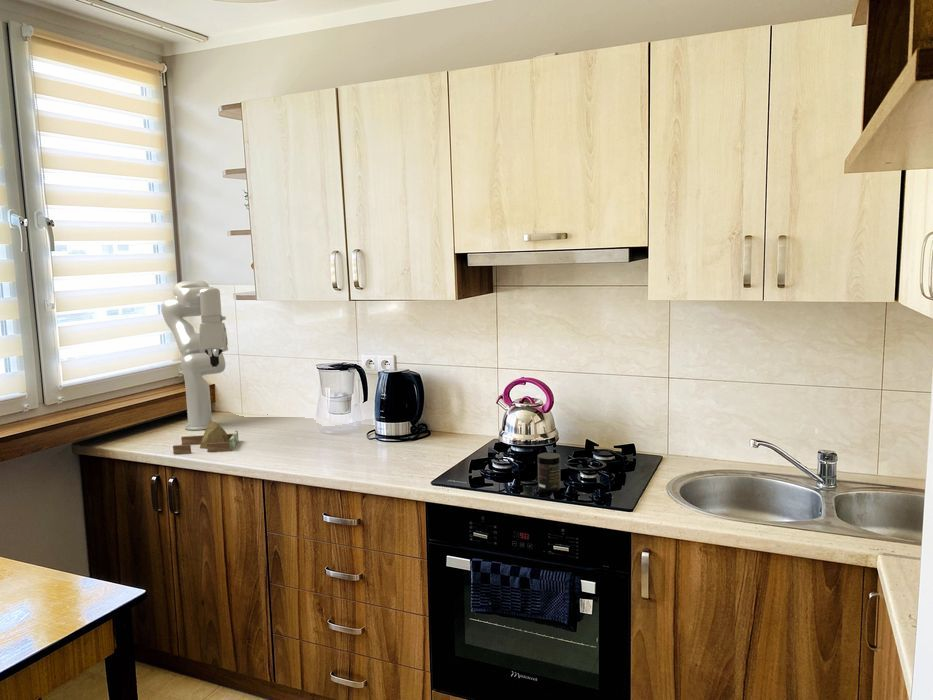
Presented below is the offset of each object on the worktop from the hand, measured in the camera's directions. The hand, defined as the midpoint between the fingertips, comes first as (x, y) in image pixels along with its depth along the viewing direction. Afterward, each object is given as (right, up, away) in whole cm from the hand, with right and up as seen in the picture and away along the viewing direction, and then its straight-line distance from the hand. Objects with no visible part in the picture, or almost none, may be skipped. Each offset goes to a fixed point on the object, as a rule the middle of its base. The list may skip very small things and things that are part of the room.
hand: (215, 366), depth 280 cm
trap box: (0, -30, -6) cm, 31 cm away
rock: (+4, -31, -9) cm, 32 cm away
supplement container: (+124, -36, -65) cm, 145 cm away
